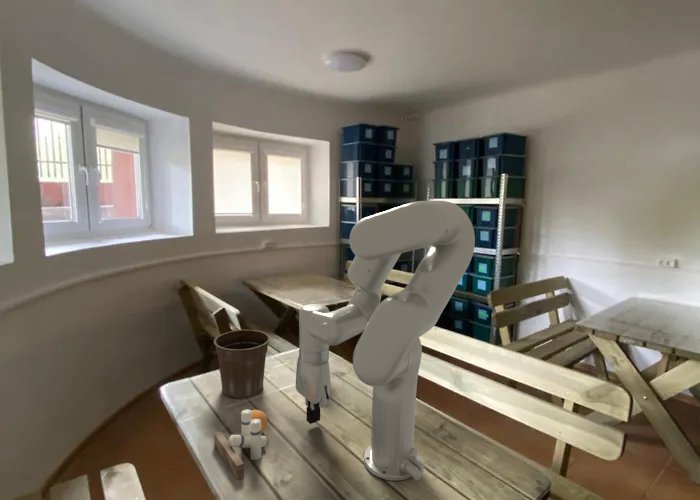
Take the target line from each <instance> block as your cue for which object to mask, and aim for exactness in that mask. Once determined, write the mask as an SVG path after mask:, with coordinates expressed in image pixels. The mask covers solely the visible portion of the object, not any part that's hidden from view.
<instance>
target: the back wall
mask: <svg viewBox="0 0 700 500" xmlns="http://www.w3.org/2000/svg"><path fill="white" fill-rule="evenodd" d="M213 435H214V441H213V442H214V446H215V448H216V450H217V451H218V453H219V454H220V456H221V457H222V459H223V460H224V461H225V463H226V465H227V466H228V467H229V469H230V471H231V472H232V474H233V475H234V477H235V478H236V479H237V480H239V479H241V478H243V477H244V476H245V465H244V464H245V463H244V462H243V460H242V459H241V457H240V456H239V455H238V454H237V452H236V451H235V449H234V448H233V447H230V446H229V440H227V438H226V437H225V435H224V434H223V433H222V431H221V430H220V431H218V432H215V433H214V434H213Z"/></svg>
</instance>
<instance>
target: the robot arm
mask: <svg viewBox="0 0 700 500" xmlns="http://www.w3.org/2000/svg"><path fill="white" fill-rule="evenodd" d="M472 223H473V222H472V221H471V219H470V218H469V216H468V214H467V213H466V212H465V211H464V210H463V208H461V207H460V206H458V204H455V203H453V202H451V201H446V200H418V201H413V202H408V203H405V204H402V205H400V206H397V207H396V206H395V207H393V208H390V209H387V210H385V211H382V212H378V213H375V214H373V215H369V216H365V217H363V218H361V219H360V220H358V221H357V222H356V223H355V224H354V225H353V227H352V229H351V231H350V234H349V239H348V241H349V247H350V250H351V251H352V253H353V254H354V258H353V260H352V262H351V263H350V266H348V269H347V278H348V280H349V281H350V282H351V283H352V284H353V286H355V291H354V293H353V295H352V297H351V298H350V301H349V302H348V303H347V305H346V306H343V307H341V308H338V309H336V310H332V311H330V310H329V308H328V307H327V306H326V305H324V304H321V303H308V304H305V305H303V306H301V307H300V309H299V312H298V315H299V316H298V319H299V320H298V322H299V323H298V327H299V329H298V330H299V331H298V357H297V361H296V370H295V371H296V373H295V390H296V391H297V392H298V393H299V395H301V396H302V397H303V398H304V401H305V402H304V403H305V406H306V422H307V423H308V424H310V425H312V424H314V423H317V422H319V421H320V420H321V409H325V408H327V407H328V401H327V400H330V398H331V387H332V386H331V385H332V384H331V371H330V370H331V369H330V361H329V359H330V346H337V345H340V344H342V343H344V342H346V341H348V340H350V339H352V338H354V337H356V336H358V335H360V334H361V336H360V337H359V339H358V341H357V344H356V345H355V348H354V350H353V353H352V366H353V370H354V373H355V375H356V377H357V378H358V379H359V380H360V382H362V383H363V384H365V385H367V386H370V387H372V400H371V401H372V402H371V403H372V404H371V405H372V407H371V434H370V435H371V438H370V439H371V441H370V445H369V446H367V447H366V449H365V450H364V452H363V463H364V466H365V467H366V469H367V470H368V471H369V472H370V473H371V474H372V475H374V476H376V477H377V478H379V479H383V480H388V481H403V480H407V479H410V478H413V479H414V480H415V481H419V480H420V479H421V477H422V471H424V469H425V464H424V463H423V462H421V460H420V456H419V454H418V449H416V448H415V446H414V444H415V442H414V441H415V426H416V425H415V423H416V403H417V402H416V401H417V388H418V387H417V386H418V378H419V371H420V366H421V362H422V355H423V354H422V353H423V351H422V350H423V349H422V343H421V339H420V337H422V336H423V335H425V334H426V333H428V332H429V331H431V330H432V329H433V328H434V327H435V326H436V324H437V322H438V320H439V319H440V317H441V314H442V313H443V311H444V309H445V308H446V306H447V305H448V303H449V301H450V299H451V297H452V296H453V294H454V292H455V290H456V288H457V287H458V285H459V283H460V281H461V280H462V278H463V277H464V275H465V274H466V271H467V270H468V268H469V266H470V263H471V261H472V258H473V255H474V251H475V246H476V235H475V229H474V227H473V224H472ZM429 247H430V248H429ZM425 248H429V250H428V251H427V253H426V254H425V256H424V257H423V258H422V259H421V261H420V263H419V264H418V266H417V267H416V269H415V272H414V274H413V275H412V277H411V279H410V281H409V282H408V284H407V285H406V286H405V287H404V288H403V289H401V290H400V291H399V292H396V293H393V294H391V295H390V296H387V297H386V298H384V299H383V300H382V301H381V299H382V288H383V286H384V285H385V282H386V281H387V279H388V277H389V275H390V273H391V272H392V270H393V268H394V267H395V265H396V263H397V262H398V260H399V258H400V257H401V254H404V253H408V252H412V251H416V250H420V249H425Z"/></svg>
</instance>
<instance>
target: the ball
mask: <svg viewBox="0 0 700 500" xmlns="http://www.w3.org/2000/svg"><path fill="white" fill-rule="evenodd" d="M251 411H252V420H253V419H260V420H261V434H262V433H264V432H265V430H266V428H267V426H268V417H267V415H266V414H265V412H264V411H261V410H259V409H252V410H251Z"/></svg>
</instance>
